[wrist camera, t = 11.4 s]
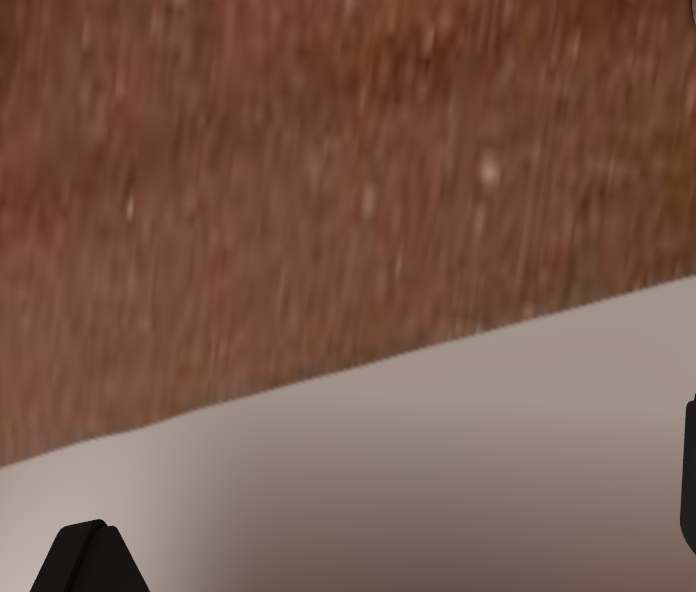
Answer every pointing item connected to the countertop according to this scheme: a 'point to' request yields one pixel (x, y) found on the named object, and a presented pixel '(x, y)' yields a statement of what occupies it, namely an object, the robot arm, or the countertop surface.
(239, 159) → the countertop surface
